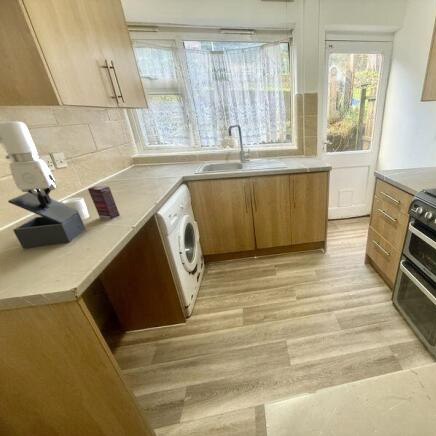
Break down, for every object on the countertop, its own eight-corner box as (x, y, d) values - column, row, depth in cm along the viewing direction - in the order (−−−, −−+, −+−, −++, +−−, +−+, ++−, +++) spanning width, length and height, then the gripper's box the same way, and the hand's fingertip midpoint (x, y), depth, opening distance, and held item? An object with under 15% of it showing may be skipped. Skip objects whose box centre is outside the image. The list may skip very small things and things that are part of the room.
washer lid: (7, 202, 87) (8, 200, 87) (32, 192, 98) (33, 190, 98) (60, 224, 94) (61, 222, 94) (78, 212, 105) (78, 211, 105)
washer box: (23, 250, 94) (12, 229, 91) (44, 235, 106) (35, 217, 102) (70, 244, 98) (61, 224, 94) (86, 230, 109) (78, 212, 105)
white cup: (67, 220, 120) (58, 202, 116) (84, 214, 127) (76, 196, 122) (77, 222, 117) (68, 203, 113) (94, 216, 124) (86, 197, 120)
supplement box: (121, 216, 123) (109, 186, 116) (112, 220, 118) (99, 189, 112) (109, 215, 125) (97, 185, 119) (99, 219, 121) (86, 188, 115)
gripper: (-9, 161, 84) (16, 210, 91) (43, 158, 87) (63, 206, 94) (8, 157, 90) (30, 203, 98) (56, 154, 93) (74, 199, 101)
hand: (46, 204), depth 96 cm, fingers closed
